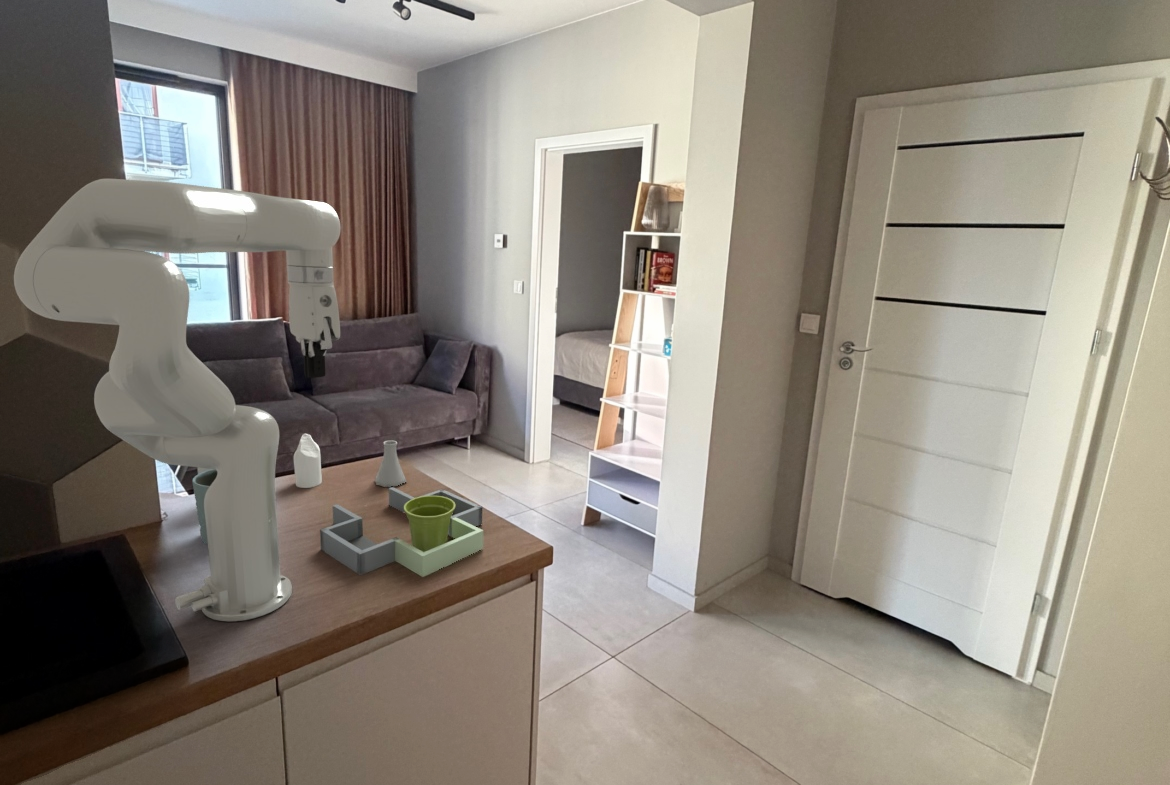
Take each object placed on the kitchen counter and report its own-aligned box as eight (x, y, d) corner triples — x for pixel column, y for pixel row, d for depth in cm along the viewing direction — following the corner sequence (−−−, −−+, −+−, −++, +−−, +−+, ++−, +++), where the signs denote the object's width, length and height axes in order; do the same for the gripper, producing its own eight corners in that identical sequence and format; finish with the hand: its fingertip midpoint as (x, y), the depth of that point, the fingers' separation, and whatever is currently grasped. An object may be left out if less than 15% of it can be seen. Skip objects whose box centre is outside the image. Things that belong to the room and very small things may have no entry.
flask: (412, 483, 147) (411, 444, 144) (383, 490, 142) (382, 449, 140) (398, 474, 152) (397, 435, 150) (369, 480, 147) (368, 440, 145)
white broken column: (308, 439, 137) (286, 436, 138) (310, 489, 140) (289, 486, 141) (325, 432, 143) (304, 429, 144) (327, 480, 146) (306, 477, 147)
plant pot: (465, 545, 119) (465, 503, 117) (430, 565, 111) (430, 520, 109) (429, 531, 123) (429, 491, 121) (393, 550, 115) (392, 507, 113)
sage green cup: (192, 532, 117) (186, 473, 115) (250, 519, 124) (246, 462, 121) (204, 553, 110) (199, 491, 107) (266, 538, 117) (262, 479, 114)
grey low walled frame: (387, 593, 102) (387, 571, 101) (299, 535, 119) (298, 516, 118) (509, 537, 123) (509, 519, 122) (419, 495, 140) (419, 478, 139)
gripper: (353, 279, 108) (355, 381, 112) (309, 273, 117) (313, 367, 121) (312, 279, 102) (316, 387, 107) (269, 273, 111) (275, 372, 116)
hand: (315, 376), depth 114 cm, fingers closed
